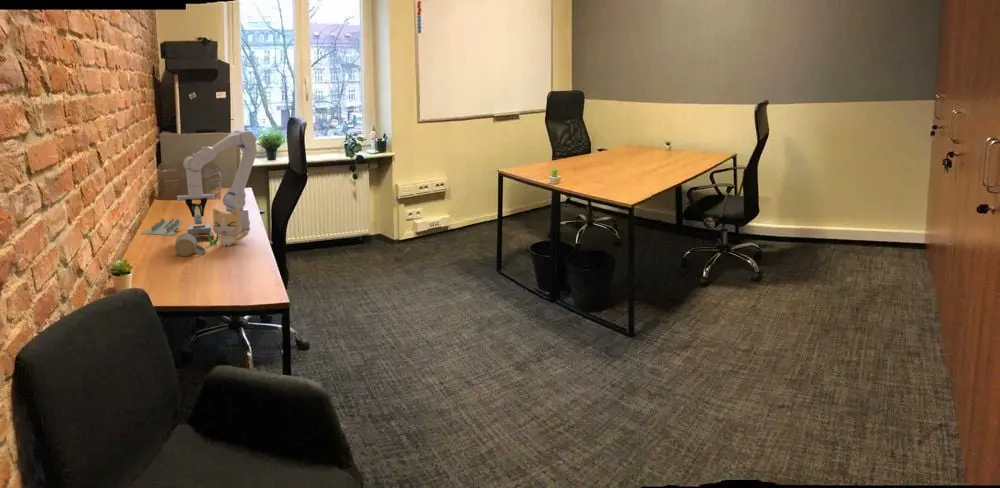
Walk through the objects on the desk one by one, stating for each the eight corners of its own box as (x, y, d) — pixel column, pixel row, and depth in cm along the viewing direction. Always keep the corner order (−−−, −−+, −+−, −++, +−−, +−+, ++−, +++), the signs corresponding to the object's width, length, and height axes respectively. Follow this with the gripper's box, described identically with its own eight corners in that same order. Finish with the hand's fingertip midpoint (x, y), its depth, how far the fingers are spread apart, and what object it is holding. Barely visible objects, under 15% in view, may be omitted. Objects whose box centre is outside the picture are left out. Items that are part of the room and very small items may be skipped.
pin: (204, 222, 302) (202, 202, 300) (201, 224, 299) (199, 204, 297) (195, 222, 302) (193, 202, 300) (193, 224, 299) (191, 204, 297)
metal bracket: (157, 215, 313) (187, 217, 310) (161, 227, 316) (191, 228, 313) (138, 231, 301) (169, 233, 298) (142, 243, 304) (173, 244, 301)
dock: (211, 231, 307) (210, 224, 306) (211, 235, 300) (210, 228, 299) (189, 233, 304) (188, 225, 303) (188, 237, 297) (187, 229, 296)
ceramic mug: (175, 258, 266) (173, 238, 264) (176, 252, 273) (174, 233, 271) (205, 256, 269) (203, 236, 267) (205, 250, 277) (204, 232, 275)
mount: (213, 236, 299) (213, 231, 299) (213, 239, 293) (212, 235, 293) (195, 237, 297) (195, 233, 297) (195, 241, 291) (194, 236, 290)
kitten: (204, 247, 281) (201, 211, 277) (212, 241, 290) (209, 206, 287) (243, 247, 282) (239, 210, 278) (249, 241, 292) (246, 206, 288)
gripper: (213, 182, 303) (216, 213, 306) (176, 184, 298) (180, 215, 301) (213, 185, 296) (216, 216, 300) (175, 187, 291) (179, 218, 295)
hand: (197, 216), depth 300 cm, fingers closed on pin, 3 cm apart
